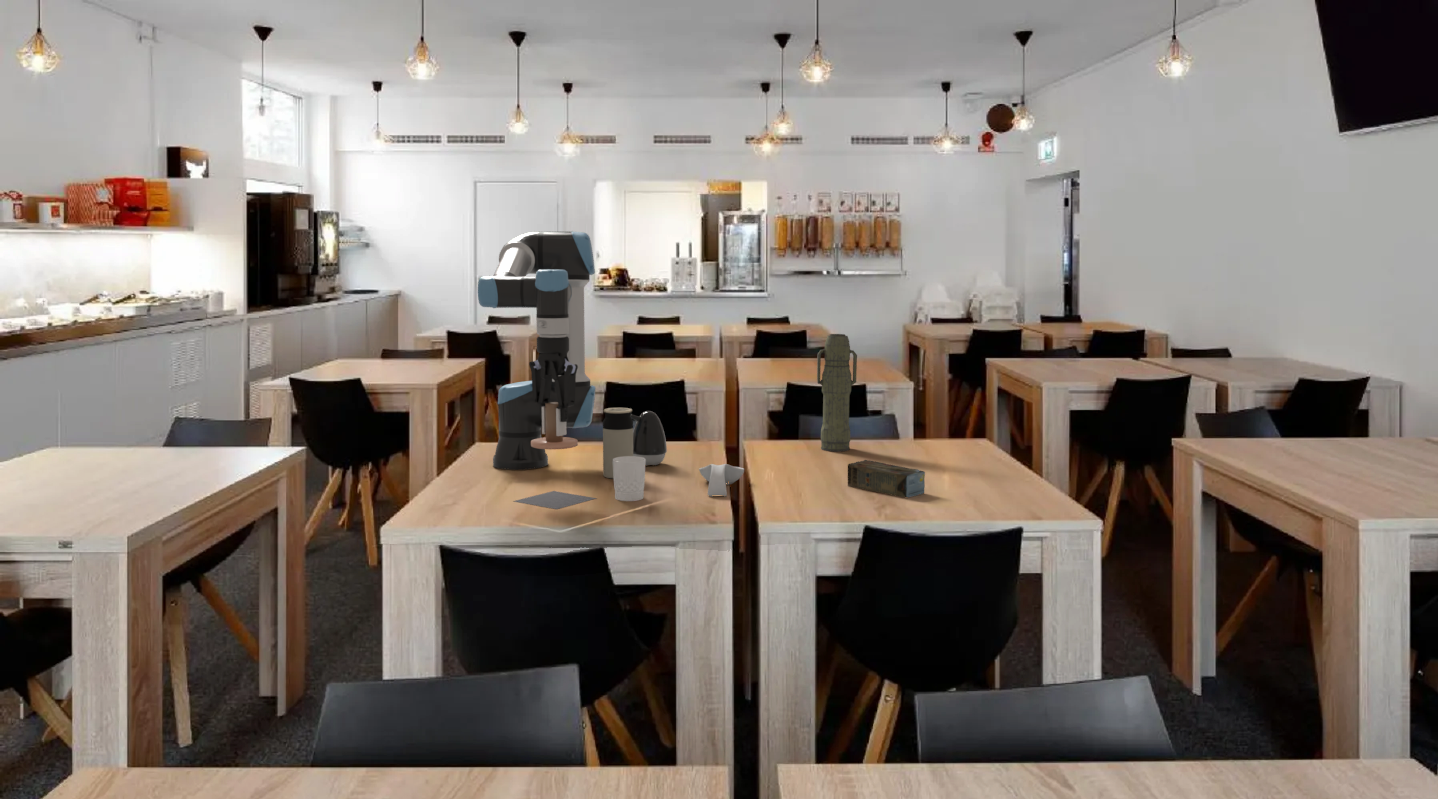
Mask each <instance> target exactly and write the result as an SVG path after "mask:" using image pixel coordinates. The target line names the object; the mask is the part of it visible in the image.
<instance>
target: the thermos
mask: <svg viewBox="0 0 1438 799" xmlns="http://www.w3.org/2000/svg"><path fill="white" fill-rule="evenodd" d="M822 354H824V366H823V367H824V368H823V370H822V371H823V372H822V373H821V355H822ZM851 354H852V356H853V357H852V358H853V361H852V372H851V366H850V361H851ZM816 358H817V360H816V373H817V374H816V382H817V384H819V385H821V393H822V395H823V397H822V402H823V403H822V425H821V429H820V441H821V447H820V449H821V450H822V451H825V452H837V453H838V452H847V451H850V443H851V428H850V395H851V392H852V386H853V385H854V384H856V383H857V368H858V367H857V363H858V354H857V353H856V352H855V351H854V349H853V350H852V349H851V344H850V339H849V337H848V335H846V334H844V333H831V334H829V335H827V337H826V339H825V343H824V348H822V349H820V350H819V352H817V357H816Z"/></svg>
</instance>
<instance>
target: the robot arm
mask: <svg viewBox="0 0 1438 799" xmlns="http://www.w3.org/2000/svg"><path fill="white" fill-rule="evenodd" d="M593 253H594V252H593V247H592V241H591V237H590V235H589V234H588V233H586V232H584V231H582V232H581V231H573V230H571V231H535V230H534V231H529V232H526V233H522V234H519V235H518V236H516V237H513V238H511V239H510V240H509V241H508V242H506V243H505V244H504V245H503V246H502V248H501V250H500V252H499V254H498V262H499V263H498V265H497V267H496V270H495V272H494V273H493V275H488V276H480V278H479V279H478V281H477V299H478V304H479V306H481V307H482V308H492V309H503V308H505V309H509V308H510V309H514V308H516V309H519V308H521V309H522V308H527V309H528V308H530V309H531V308H532V309H536V314H535V315H536V316H535V317H536V321H535V322H536V334H537V335H538V336H537V337H536V351H537V353H538V357H537V359H536V360H533V361H530V362H529V363H528V364H529V368H530V371H531V380H526V381H518V382H513V383H508V384H504V385H503V386H501V387H500V388H499V389H498V394H497V397H498V398H497V405H498V406H497V408H498V412H497V413H498V441H497V444H496V448H495V452H494V453H495V454H494V455H493V457H492V467H494V468H496V469H501V470H511V471H515V470H517V471H518V470H520V471H523V470H524V471H525V470H532V469H533V470H534V469H535V470H536V469H539V468H540V469H541V468H543V467H546V466H547V465H549V457H548V456H549V455H548V454H547V453H546V449H538V448H534V447H532V446H531V440H533V439H537V438H542V435H546V419H545V403H549V402H558V407H557V408H556V436H562V435H563V436H567V429H568V428H570V429H571V428H572V429H577V428H587V427H588V426H589V427H590V425H591V423H592V421H593V420H592V419H593V414H594V413H593V412H594V407H595V398H596V389H597V388H596V386H595V385H592V384H591V378H590V377H589V376H588V375H586V373H585V372H586V366H585V365H586V362H585V361H586V357H585V356H586V355H585V353H586V352H585V350H586V349H585V287H586V285H588V284H589V282H590V276H592V275H595V272H596V269H595V260H594V254H593ZM527 275H535V276H527Z"/></svg>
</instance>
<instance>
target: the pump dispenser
mask: <svg viewBox="0 0 1438 799" xmlns="http://www.w3.org/2000/svg"><path fill="white" fill-rule="evenodd" d="M630 417H631V419H632V420H633V421H635V425H634V426H633V456H636V457H643V458H645V459H646V461H645V465H646V466H645V467H648V466H647V465H655V466H657V465H659V464H661V463H662V462H663V461H664V459H665V457H666V454H667V451H668V449H667V448H668V447H667V441H666V440H667V439H666V435H665V431H664V427H663V424H662V422H661V419H660V418H659V416H658V415H657V414H656V412H653V411H651V410H646V411H643V412H642V413H641V414H640V415H639V416H638V415H635V414H631V416H630Z"/></svg>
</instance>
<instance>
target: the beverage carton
mask: <svg viewBox="0 0 1438 799" xmlns="http://www.w3.org/2000/svg"><path fill="white" fill-rule="evenodd" d="M925 475H926V472H925V471H923V470H920V469H917V468H910V467H904V466H900V465H894V464H890V463H884V462H879V461H873V460H870V459H869V460H868V459H864V460H861V461H856V462H852V463H848V464H847V486H848V487H850V488H851V487H852V488H857V489H862V490H866V491H867V490H868V491H870V492H871V491H872V492H876V493H881V494H885V493H886V494H885V495H890V494H892V495H891V496H895V495H896V496H895V497H901V498H905V497H908V498H911V497H915V496H920V495H923V493H924V494H925V488H926V487H925V486H926V485H925V477H926V476H925ZM919 494H920V495H919Z"/></svg>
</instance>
